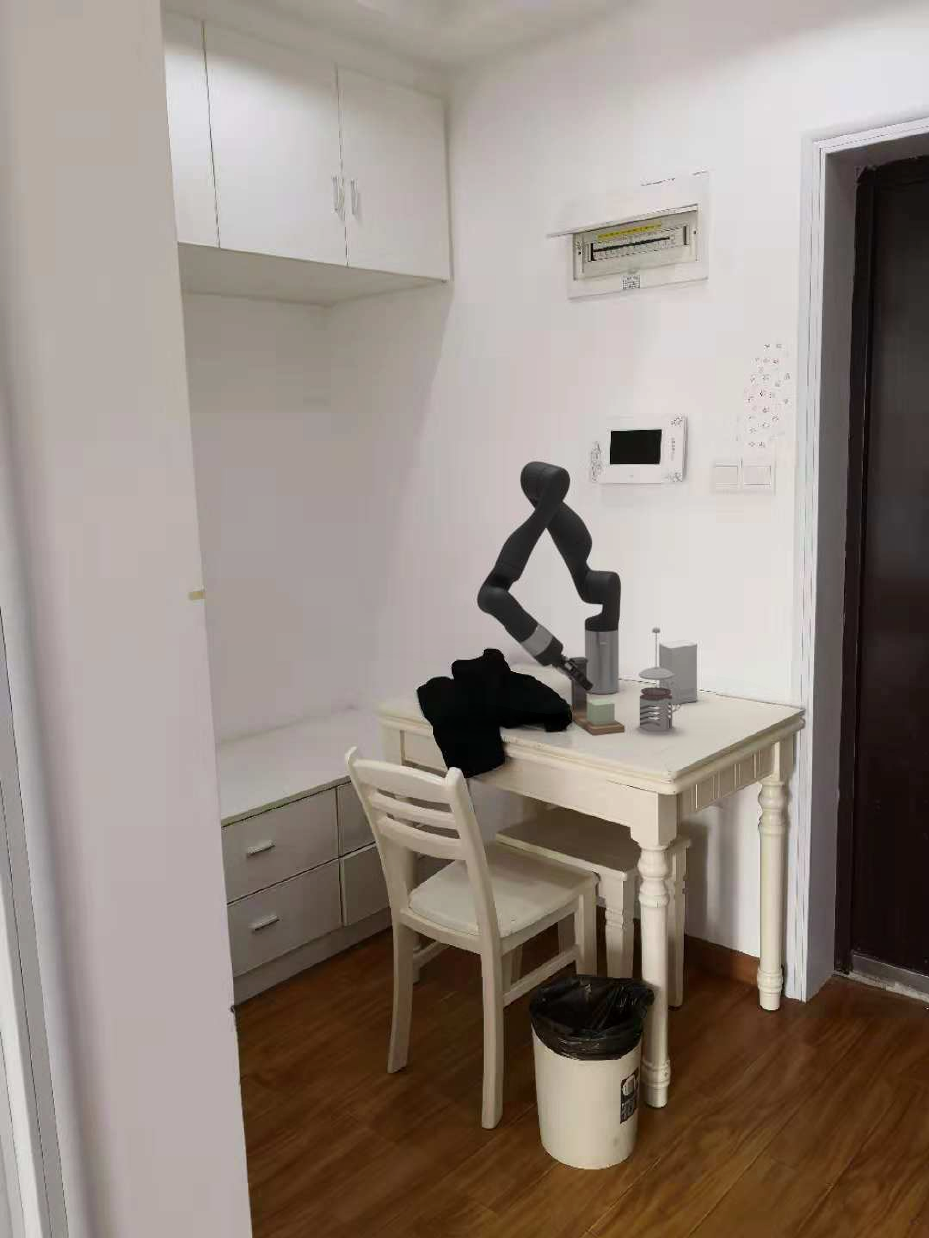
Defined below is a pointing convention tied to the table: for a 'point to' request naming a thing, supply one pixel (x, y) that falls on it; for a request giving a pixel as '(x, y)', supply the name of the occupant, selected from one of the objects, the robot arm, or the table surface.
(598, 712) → the sage block
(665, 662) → the skincare box
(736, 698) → the table surface
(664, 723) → the french press
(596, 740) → the table surface
